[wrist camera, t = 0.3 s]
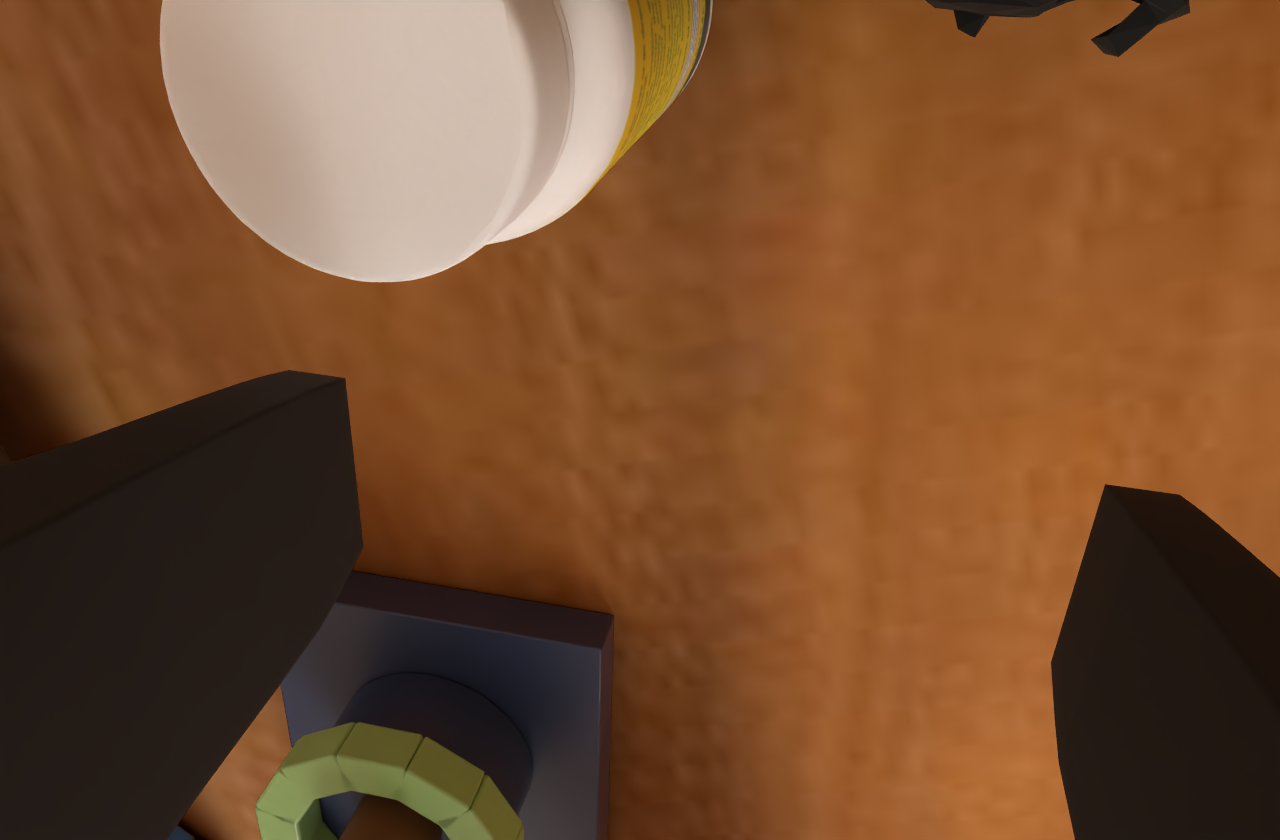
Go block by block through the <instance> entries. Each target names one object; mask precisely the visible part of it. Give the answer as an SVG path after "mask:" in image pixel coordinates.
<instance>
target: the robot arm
mask: <svg viewBox="0 0 1280 840" xmlns="http://www.w3.org/2000/svg"><path fill="white" fill-rule="evenodd" d="M362 549H363V538H362V529H361V520H360V510H359V501H358V492H357V482H356V473H355V464H354V455H353V445H352V436H351V427H350V418H349V408H348V399H347V390H346V380H345V378H341V377H334V376H327V375H320V374H312V373H305V372H298V371H291V370H288V371H284V372H279V373H275V374H270V375H266V376H262V377H259V378H255V379H252V380H249V381H246V382H242V383H239V384H236V385H233V386H230V387H227V388H224V389H221V390H218V391H215V392H212V393H210V394H207V395H204V396H201V397H198V398H195V399H192V400H190V401H187V402H184V403H181V404H179V405H176V406H173V407H170V408H167V409H165V410H162V411H159V412H156V413H154V414H151V415H148V416H145V417H143V418H140V419H137V420H134V421H131V422H129V423H126V424H123V425H120V426H118V427H115V428H112V429H109V430H107V431H104V432H101V433H98V434H95V435H93V436H90V437H87V438H84V439H81V440H78V441H75V442H72V443H69V444H66V445H63V446H60V447H57V448H54V449H51V450H48V451H45V452H42V453H39V454H36V455H33V456H30V457H27V458H24V459H21V460H18V461H15V462H12V463H9V464H6V465H3V466H0V840H168V838H169V837H170V835H171V834H172V832H173V831H174V829H175V828H176V826H177V825H178V823H179V822H180V820H181V819H182V817H183V816H184V814H185V813H186V811H187V810H188V809H189V807H190V806H191V804H192V803H193V802H194V800H195V799H196V797H197V796H198V795H199V793H200V792H201V791H202V789H203V788H204V787H205V785H206V784H207V783H208V781H209V780H210V779H211V777H212V776H213V774H214V773H215V772H216V770H217V769H218V768H219V766H220V765H221V764H222V762H223V761H224V760H225V758H226V757H227V756H228V754H229V753H230V751H231V750H232V749H233V747H234V746H235V745H236V743H237V742H238V741H239V739H240V738H241V737H242V735H243V734H244V733H245V731H246V730H247V728H248V727H249V726H250V724H251V723H252V722H253V720H254V719H255V718H256V716H257V715H258V714H259V712H260V711H261V710H262V708H263V707H264V706H265V704H266V703H267V701H268V700H269V699H270V697H271V696H272V695H273V693H274V692H275V691H276V689H277V688H278V687H279V685H280V684H281V682H282V681H283V680H284V678H285V677H286V675H287V674H288V673H289V671H290V670H291V669H292V667H293V666H294V664H295V663H296V662H297V660H298V659H299V657H300V656H301V655H302V653H303V652H304V651H305V649H306V648H307V646H308V645H309V644H310V642H311V641H312V639H313V638H314V636H315V635H316V634H317V632H318V631H319V629H320V628H321V626H322V625H323V623H324V621H325V619H326V617H327V615H328V614H329V612H330V610H331V608H332V606H333V605H334V603H335V601H336V599H337V597H338V596H339V594H340V592H341V590H342V588H343V586H344V584H345V582H346V580H347V578H348V576H349V574H350V572H351V570H352V568H353V566H354V564H355V562H356V560H357V558H358V556H359V554H360V553H361V551H362ZM1051 668H1052V683H1053V699H1054V714H1055V726H1056V737H1057V748H1058V759H1059V766H1060V770H1061V775H1062V780H1063V785H1064V790H1065V795H1066V799H1067V804H1068V809H1069V813H1070V818H1071V822H1072V827H1073V832H1074V836H1075V840H1280V578H1279V577H1278V576H1277V575H1276V574H1275V573H1274V572H1273V571H1271V570H1270V569H1269V568H1268V567H1267V566H1266V565H1264V564H1263V563H1262V562H1261V561H1260V560H1259V559H1258V558H1256V557H1255V556H1254V555H1253V554H1252V553H1251V552H1250V551H1248V550H1247V549H1246V548H1245V547H1244V546H1243V545H1241V544H1240V543H1239V542H1238V541H1237V540H1236V539H1234V538H1233V537H1232V536H1231V535H1230V534H1229V533H1227V532H1226V531H1225V530H1224V529H1223V528H1221V527H1220V526H1219V525H1218V524H1217V523H1216V522H1214V521H1213V520H1212V519H1211V518H1209V517H1208V516H1207V515H1206V514H1205V513H1203V512H1202V511H1201V510H1199V509H1198V508H1197V507H1196V506H1194V505H1193V504H1191V503H1190V502H1189V501H1187V500H1186V499H1185V498H1183V497H1182V496H1180V495H1177V494H1170V493H1163V492H1156V491H1149V490H1142V489H1134V488H1127V487H1120V486H1113V485H1106V484H1105V487H1104V490H1103V493H1102V497H1101V500H1100V503H1099V507H1098V510H1097V513H1096V516H1095V520H1094V523H1093V526H1092V530H1091V533H1090V536H1089V540H1088V543H1087V546H1086V549H1085V553H1084V556H1083V559H1082V563H1081V566H1080V569H1079V572H1078V576H1077V579H1076V582H1075V586H1074V589H1073V592H1072V596H1071V599H1070V602H1069V605H1068V609H1067V612H1066V615H1065V619H1064V622H1063V625H1062V628H1061V632H1060V635H1059V638H1058V642H1057V645H1056V648H1055V651H1054V655H1053V658H1052V661H1051Z"/></svg>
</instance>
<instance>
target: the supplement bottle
mask: <svg viewBox="0 0 1280 840" xmlns="http://www.w3.org/2000/svg"><path fill="white" fill-rule="evenodd" d="M712 6H713V0H163V2H162V9H161V19H160V52H161V60H162V71H163V77H164V82H165V86H166V89H167V93H168V98H169V103H170V106H171V108H172V111H173V114H174V116H175V119H176V122H177V125H178V128H179V130H180V132H181V134H182V137H183V139H184V141H185V143H186V145H187V147H188V149H189V151H190V153H191V155H192V157H193V158H194V160H195V162H196V164H197V166H198V167H199V169H200V171H201V172H202V174H203V175H204V176H205V178H206V179H207V181H208V182H209V184H210V185H211V187H212V188H213V189H214V191H215V192H216V193H217V195H218V196H219V197H220V198H221V199H222V201H223V202H224V203H225V204H226V205H227V206H228V208H229V209H230V210H231V211H232V212H233V213H234V214H235V215H236V216H237V217H238V218H239V219H240V220H241V221H242V222H243V223H244V224H245V225H246V226H248V227H249V228H250V229H251V230H252V231H254V232H255V233H256V234H257V235H259V236H260V237H261V238H262V239H263V240H265V241H266V242H267V243H269V244H270V245H272V246H273V247H275V248H276V249H278V250H279V251H281V252H282V253H284V254H286V255H287V256H289V257H291V258H293V259H295V260H297V261H299V262H301V263H303V264H305V265H307V266H310V267H312V268H314V269H317V270H319V271H322V272H325V273H328V274H332V275H336V276H339V277H343V278H347V279H351V280H357V281H364V282H400V281H408V280H415V279H419V278H423V277H427V276H430V275H433V274H436V273H439V272H442V271H444V270H446V269H448V268H450V267H452V266H454V265H456V264H458V263H460V262H462V261H464V260H465V259H467V258H468V257H470V256H471V255H472V254H474V253H475V252H477V251H478V250H480V249H481V248H482V247H483V246H485V245H487V244H493V243H498V242H503V241H507V240H510V239H514V238H518V237H520V236H523V235H526V234H528V233H531V232H533V231H536V230H538V229H540V228H542V227H544V226H546V225H548V224H550V223H551V222H553V221H555V220H556V219H558V218H559V217H561V216H563V215H564V214H565V213H567V212H568V211H569V210H570V209H572V208H573V207H574V206H575V205H577V204H578V203H579V202H580V201H581V200H582V199H583V198H584V197H585V196H586V195H587V194H588V193H589V192H590V191H591V190H592V188H593V187H594V186H595V185H596V184H597V183H598V182H599V180H600V179H601V178H602V177H603V176H604V175H605V174H606V173H607V172H608V171H609V170H610V168H611V167H612V166H613V165H614V164H615V163H616V162H617V161H618V160H619V159H620V158H621V157H622V156H623V155H624V153H625V152H626V151H627V150H628V149H629V148H630V147H631V146H632V145H633V144H634V143H635V142H636V141H637V140H638V139H639V138H640V137H641V136H642V135H643V133H644V132H645V131H646V130H647V129H648V128H649V127H650V126H651V125H652V124H653V123H654V122H655V121H656V120H657V119H658V118H659V117H660V116H661V115H662V114H663V113H664V112H665V111H666V110H667V109H668V108H669V107H670V106H671V104H672V103H673V102H674V101H675V100H676V99H677V98H678V96H679V95H680V94H681V92H682V91H683V90H684V88H685V87H686V85H687V84H688V82H689V81H690V79H691V77H692V76H693V74H694V72H695V70H696V68H697V66H698V64H699V61H700V59H701V57H702V54H703V51H704V48H705V45H706V42H707V38H708V34H709V30H710V24H711V17H712Z"/></svg>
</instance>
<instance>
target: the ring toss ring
mask: <svg viewBox="0 0 1280 840" xmlns="http://www.w3.org/2000/svg"><path fill="white" fill-rule="evenodd" d="M348 791H356V792H361V793H365V794H370V795H375V796H380V797H385V798H390V799H394V800H398V801H400V802H401V803H403V804H405V805H406V806H408V807H410V808H411V809H413V810H415V811H416V812H418V813H419V814H421V815H423V816H424V817H426V818H428V819H429V820H431V821H433V822H434V823H436V824H438V825H439V826H440V827H441V828H442V829H443V831H444V832H445V833H446V835H447V836H448V837H449V839H450V840H524V826H523V825H522V821H521V820H520V818H519V817H518V816H517V814H516V813H515V811H514V810H513V809H512V807H511V806H510V804H509V803H508V802H507V800H506V799H505V797H504V796H503V795H502V793H501V792H500V790H499V789H498V788H497V786H496V785H495V784H494V782H493V781H492V779H491V778H490V777H489V776H488V775H484V771H482V770H481V769H479V768H478V767H476V766H474V765H473V764H471V763H469V762H468V761H466V760H465V759H463V758H461V757H460V756H458V755H456V754H455V753H453V752H452V751H450V750H448V749H447V748H445V747H443V746H442V745H440V744H439V743H437V742H435V741H434V740H432V739H430V738H429V737H425V738H423V736H422V735H421V734H418V733H413V732H407V731H402V730H397V729H392V728H387V727H382V726H377V725H372V724H366V723H361V722H358V723H356V724H355V723H354V722H351V723H347V724H343V725H340V726H336V727H333V728H329V729H325V730H322V731H318V732H314V733H311V734H307V735H304V736H303V737H302V738H300V739H299V740H297V742H296V743H295V745H294V746H293V748H292V749H291V751H290V752H289V754H288V755H287V757H286V758H285V760H284V761H283V763H282V764H281V766H280V767H279V769H278V770H277V772H276V773H275V775H274V776H273V778H272V779H271V781H270V782H269V784H268V785H267V787H266V788H265V790H264V791H263V793H262V794H261V796H260V797H259V799H258V800H257V802H256V815H257V820H258V824H259V829H260V834H261V839H262V840H338V839H337V837H336V836H335V835H334V834H333V832H332V831H331V830H330V829H329V828H328V826H327V825H326V824H325V823H324V821H323V819H322V813H321V807H320V801H319V798H323V797H327V796H331V795H335V794H339V793H344V792H348Z"/></svg>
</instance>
